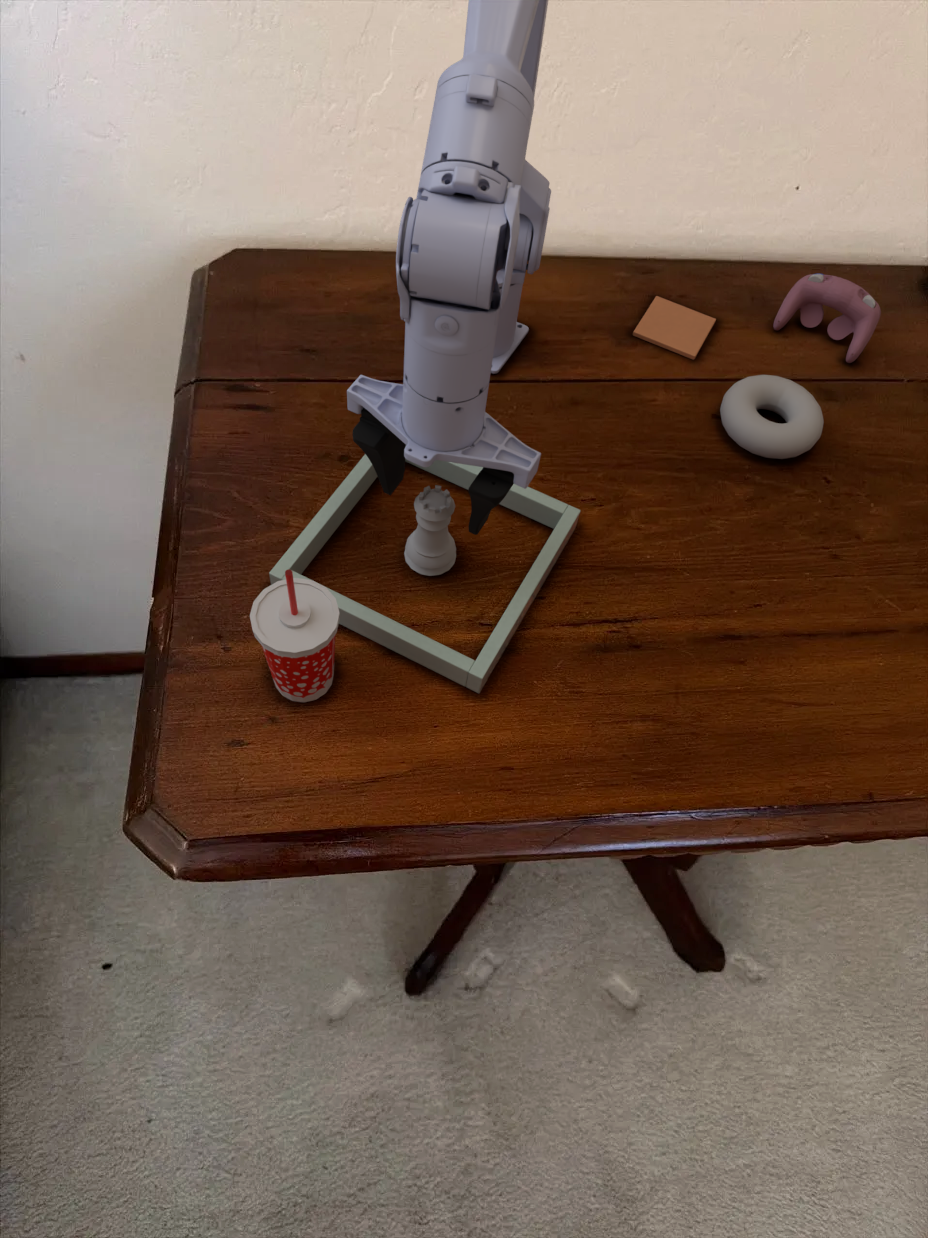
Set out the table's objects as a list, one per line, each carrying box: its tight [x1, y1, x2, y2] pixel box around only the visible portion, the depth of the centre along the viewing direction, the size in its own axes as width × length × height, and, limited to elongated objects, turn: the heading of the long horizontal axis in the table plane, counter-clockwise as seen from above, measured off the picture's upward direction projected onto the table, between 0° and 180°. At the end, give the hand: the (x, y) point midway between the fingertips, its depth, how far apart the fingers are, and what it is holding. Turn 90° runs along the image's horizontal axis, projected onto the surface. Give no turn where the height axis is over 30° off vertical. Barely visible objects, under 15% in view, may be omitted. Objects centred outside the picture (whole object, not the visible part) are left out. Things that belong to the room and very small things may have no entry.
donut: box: [719, 374, 825, 460], centre depth 86 cm, size 10×4×10 cm
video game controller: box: [772, 272, 882, 364], centre depth 94 cm, size 10×5×7 cm, turn 58°
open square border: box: [268, 445, 582, 694], centre depth 74 cm, size 19×19×2 cm
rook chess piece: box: [403, 484, 457, 577], centre depth 72 cm, size 4×4×8 cm
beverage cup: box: [249, 569, 340, 703], centre depth 62 cm, size 6×6×14 cm
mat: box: [632, 295, 717, 361], centre depth 94 cm, size 7×7×1 cm
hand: (435, 505), depth 69 cm, fingers open, 7 cm apart
